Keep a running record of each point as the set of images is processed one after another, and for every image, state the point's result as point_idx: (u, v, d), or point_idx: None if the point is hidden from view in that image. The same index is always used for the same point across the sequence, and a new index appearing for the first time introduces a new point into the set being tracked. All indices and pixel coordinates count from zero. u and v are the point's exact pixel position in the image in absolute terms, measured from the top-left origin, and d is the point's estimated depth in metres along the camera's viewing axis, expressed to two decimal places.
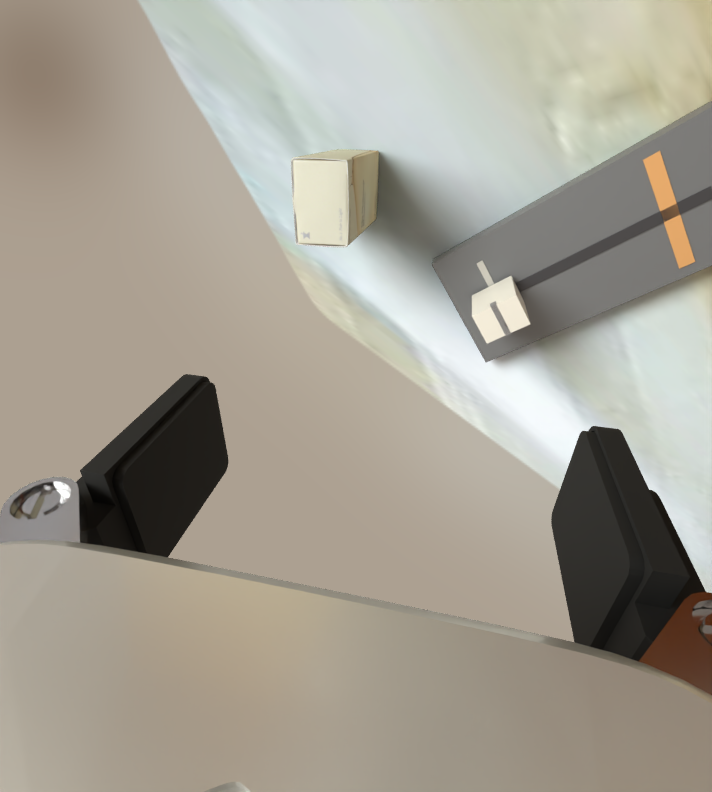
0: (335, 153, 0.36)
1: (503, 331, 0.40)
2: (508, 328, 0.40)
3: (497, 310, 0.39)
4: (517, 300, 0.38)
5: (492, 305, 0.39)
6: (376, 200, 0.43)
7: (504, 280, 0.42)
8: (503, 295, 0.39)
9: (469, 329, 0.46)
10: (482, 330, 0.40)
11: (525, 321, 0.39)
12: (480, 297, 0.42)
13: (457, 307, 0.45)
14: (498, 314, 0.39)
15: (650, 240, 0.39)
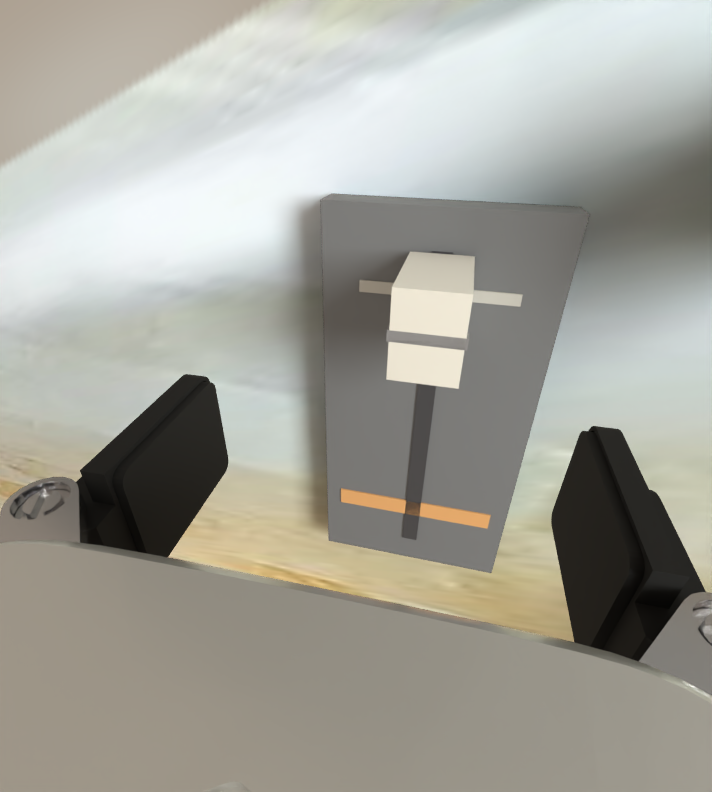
0: None
1: (398, 330, 0.18)
2: (401, 342, 0.18)
3: (450, 345, 0.18)
4: (446, 385, 0.19)
5: (467, 342, 0.17)
6: None
7: None
8: None
9: (408, 208, 0.21)
10: (427, 295, 0.17)
11: (396, 375, 0.19)
12: None
13: (468, 211, 0.20)
14: (441, 342, 0.18)
15: (392, 483, 0.30)
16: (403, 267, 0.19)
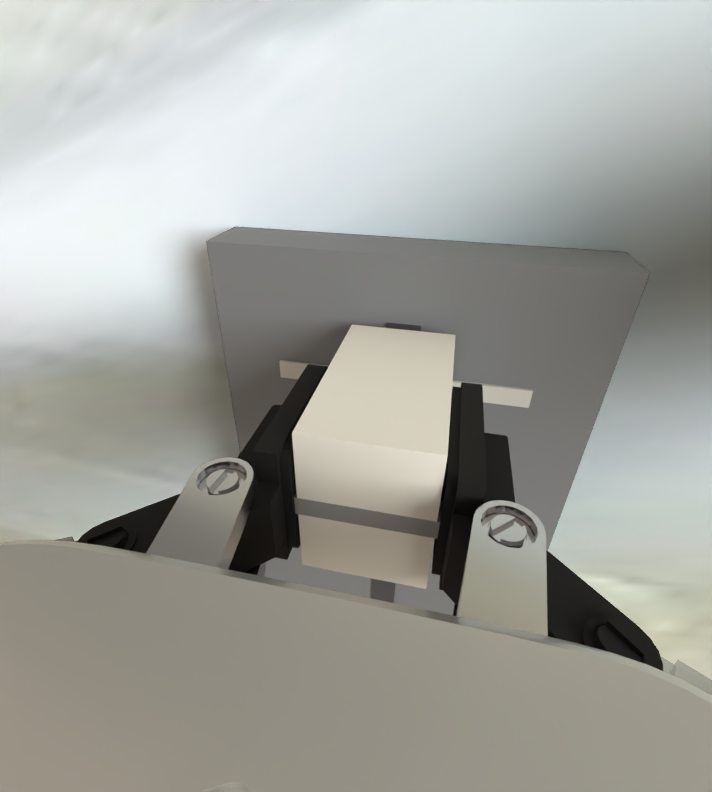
0: None
1: (313, 497, 0.10)
2: (320, 518, 0.10)
3: (407, 528, 0.09)
4: (404, 581, 0.10)
5: (438, 526, 0.09)
6: None
7: None
8: None
9: (345, 257, 0.13)
10: (359, 451, 0.09)
11: (318, 560, 0.11)
12: None
13: (443, 264, 0.12)
14: (391, 523, 0.10)
15: None
16: (330, 368, 0.11)
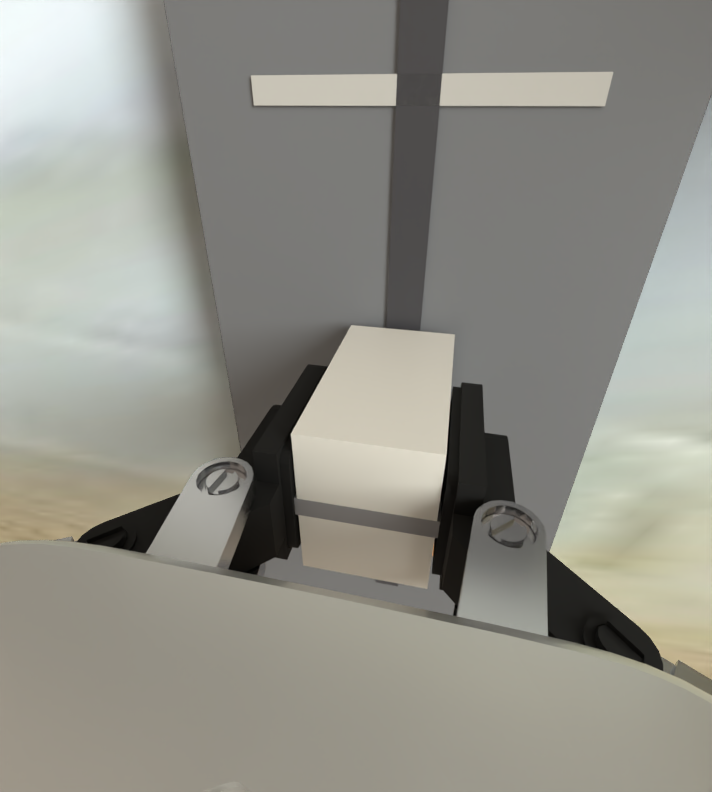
0: None
1: (313, 498, 0.10)
2: (320, 518, 0.10)
3: (408, 528, 0.09)
4: (405, 581, 0.10)
5: (438, 526, 0.09)
6: None
7: None
8: None
9: None
10: (358, 451, 0.09)
11: (319, 561, 0.11)
12: None
13: None
14: (391, 523, 0.10)
15: None
16: (329, 369, 0.11)
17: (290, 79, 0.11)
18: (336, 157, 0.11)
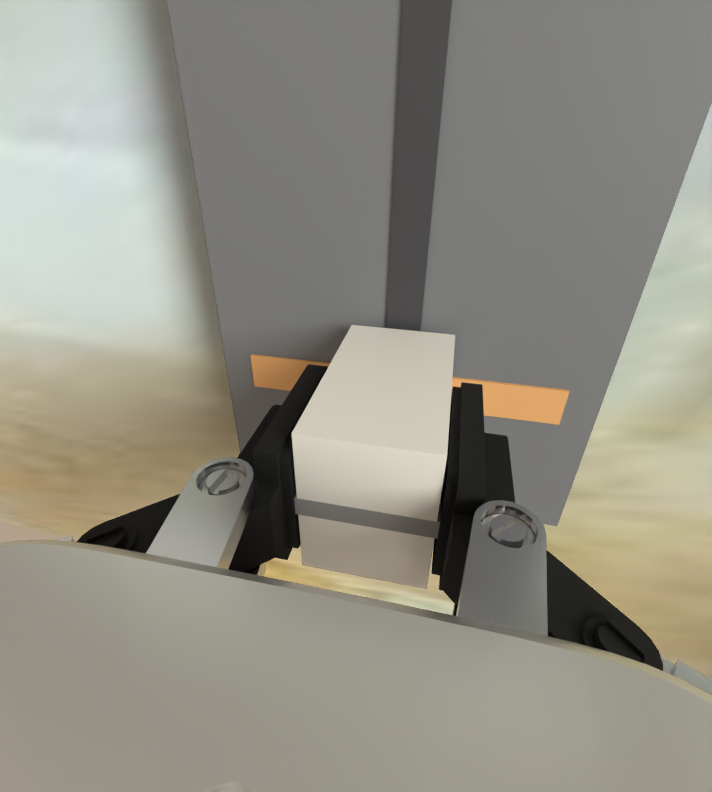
0: None
1: (313, 497, 0.10)
2: (320, 517, 0.10)
3: (407, 528, 0.10)
4: (404, 581, 0.10)
5: (438, 526, 0.09)
6: None
7: None
8: None
9: None
10: (359, 451, 0.09)
11: (318, 561, 0.11)
12: None
13: None
14: (391, 523, 0.10)
15: None
16: (330, 368, 0.11)
17: None
18: None
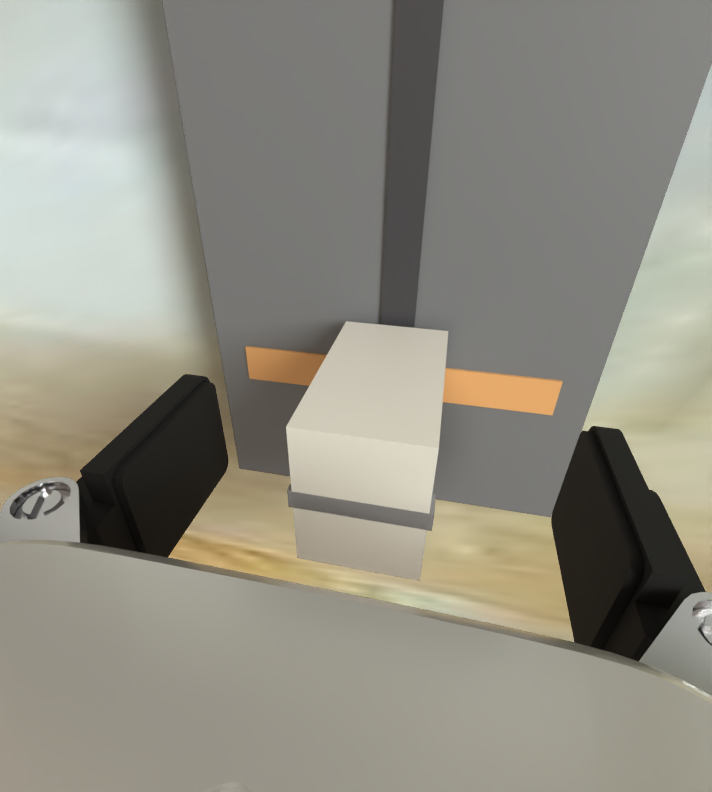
0: None
1: (307, 491, 0.10)
2: (315, 510, 0.10)
3: (400, 521, 0.10)
4: (398, 574, 0.11)
5: (431, 518, 0.10)
6: None
7: None
8: None
9: None
10: (352, 444, 0.09)
11: (313, 554, 0.11)
12: None
13: None
14: (384, 516, 0.10)
15: (349, 320, 0.14)
16: (324, 364, 0.11)
17: None
18: None
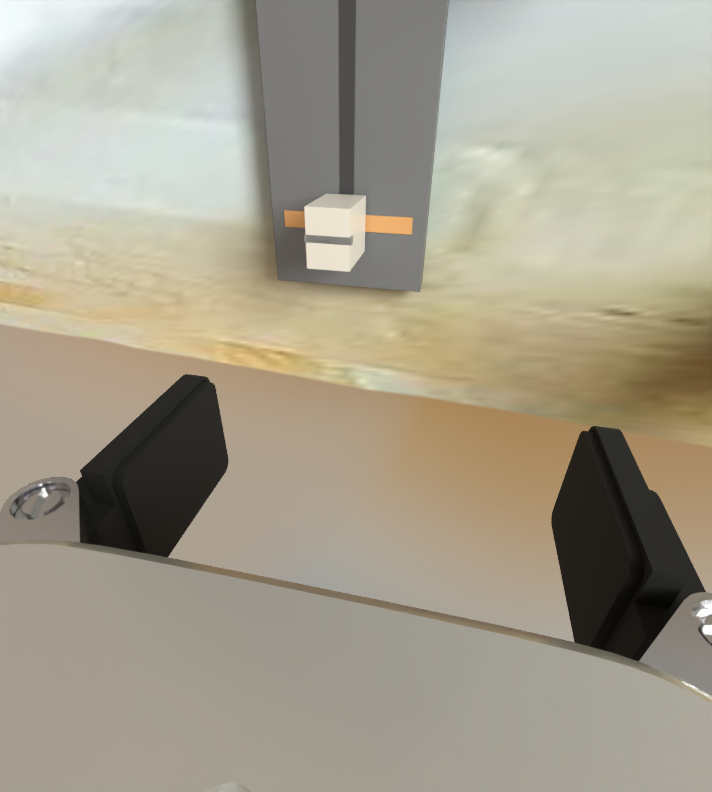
0: None
1: (310, 234, 0.30)
2: (313, 242, 0.30)
3: (341, 242, 0.30)
4: (342, 269, 0.31)
5: (350, 240, 0.29)
6: None
7: (363, 243, 0.34)
8: (353, 251, 0.31)
9: None
10: (324, 211, 0.29)
11: (312, 265, 0.31)
12: (361, 212, 0.32)
13: None
14: (336, 241, 0.30)
15: None
16: (316, 199, 0.31)
17: None
18: None
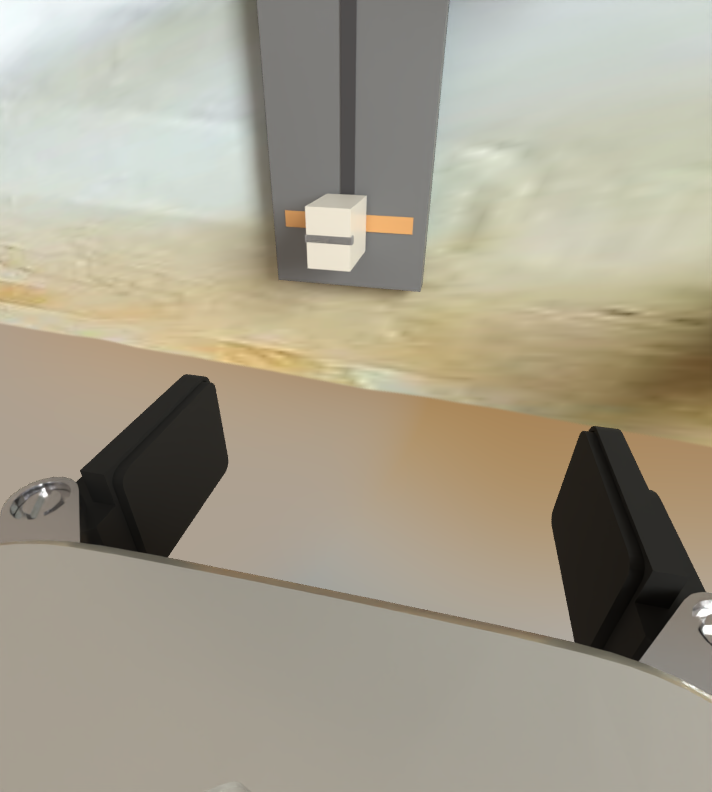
0: None
1: (311, 234, 0.30)
2: (313, 242, 0.30)
3: (341, 242, 0.30)
4: (342, 269, 0.31)
5: (351, 240, 0.30)
6: None
7: (364, 243, 0.34)
8: (354, 251, 0.31)
9: None
10: (325, 211, 0.29)
11: (313, 264, 0.31)
12: (361, 212, 0.32)
13: None
14: (336, 241, 0.30)
15: None
16: (317, 199, 0.31)
17: None
18: None
